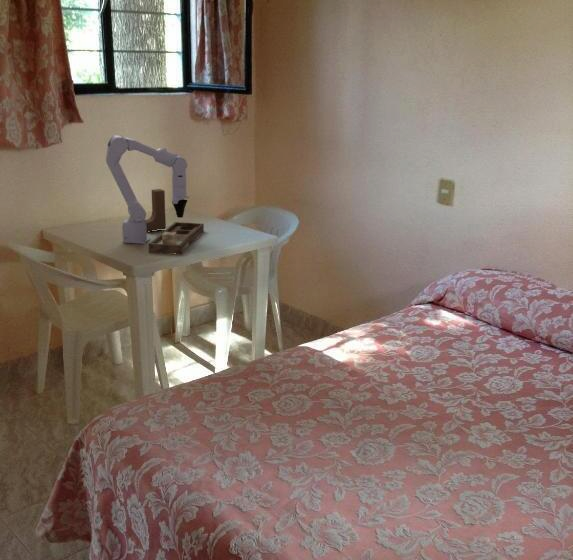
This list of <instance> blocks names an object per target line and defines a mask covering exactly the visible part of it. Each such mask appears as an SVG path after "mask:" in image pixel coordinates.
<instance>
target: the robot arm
mask: <svg viewBox="0 0 573 560" xmlns="http://www.w3.org/2000/svg"><path fill="white" fill-rule="evenodd" d="M127 151H128V152H131V151H138V152H139V153H143V154H145V155H148V156H149V157H153V159H154V162H157V163H159V164H161V165H164V166H166V167H168V168H172V170H171V172H172V175H171V177H172V178H171V181H172V182H171V183H172V184H171V185H172V196H171V198H172V200H171V204H172V205H173V207H174V210H175V212H176V213H175V214H176V218H178V219H179V218H181V219H182V218H183V217H184V213H185V210H186V209H185V208H186V205H187V203H188V199H189V198H190V195H187V194H188V193H187V174H186V171H187V168H188V163H187V161H186V158H184V157H182V156H181V155H179V154H178V153H176V152H174V153H172V152H171V151H168V149H167V148H165V147H163V148H161V147H159V148H157V149H155V148H153V147H151V146H149V145H147V144H145V143H142V142H140V141H138V140H136V139H134V138H131V137H127V136H122V135H121V134H114V135H112V136H111V137H110V138H109V140H108V143H107V149H106V156H105V162H106V164H107V167H108V169H109V171H110V173H111V175H112V177H113V179H114V181H115V183H116V185H117V187H118V189H119V190H120V193H121V195H122V196H123V199H124V201H125V203H126V205H127V212H128V214H129V217H128V219H124V220H123V222H122V225H121V227H122V228H121V229H122V241H121V242H122V243H126V244H140V245H144V244H146V243H147V242H149V241H150V240H151V237H148V235H147V233H148V232H147V230H146V220H147V218H146V217H147V212H146V209H144V207H143V205H142V204H140V202H139V200H138V199H137V197H136V195H135V192H134V191H133V188H132V187H131V185H130V182H129V181H128V178H127V175H126V173H125V172H124V170H123V168H122V166H121V164H120V160H121V158H122V156H123V155H124V154H125V153H126V152H127Z"/></svg>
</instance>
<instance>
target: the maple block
mask: <svg viewBox="0 0 573 560" xmlns="http://www.w3.org/2000/svg"><path fill="white" fill-rule="evenodd" d="M162 243H163V244H171V245H175V244H176V243H177V238H176V232H165V233H164V234H162Z"/></svg>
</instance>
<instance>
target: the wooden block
mask: <svg viewBox="0 0 573 560" xmlns="http://www.w3.org/2000/svg"><path fill="white" fill-rule="evenodd" d="M165 195H166V192H165V190H164V189H161V188H157V189H156V188H155V189H151V209H152V211H151V216H150V217H149V218H148V219H147V218H146V230H147V233H149V232H148V231H152V230H157V229H165V228H166V226H167V224H166V223H167V222H166V199H165V198H166V196H165ZM166 229H167V228H166Z"/></svg>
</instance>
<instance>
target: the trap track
mask: <svg viewBox="0 0 573 560" xmlns="http://www.w3.org/2000/svg"><path fill="white" fill-rule="evenodd" d="M204 225H205V224H204V223H199V222H183V221H182V222H179V221H175V222H173V223H172V224H171V225H170V226H169V227H167V228H166V230H163V231H162V232H161V233H160V234H158V236H156V237H155V238H154V239H153V240H151V241H150V242H149V243H148V253H152V252H162V253H161V254H168V253H176V254H175V255H182V254H183V253H184V252H185V251H186V250H187V249H188V248H189V247H190V246H191V245H192V244H193V243H194V242H195V241H196V240H197V239H198V238H199V237H200V236H201V235H202V234H203V233H204V230H205V226H204ZM165 232H176V238H177V243H176V244H175V245H171V244H163V243H162V234H164V233H165ZM200 234H201V235H200ZM199 235H200V236H199ZM198 236H199V237H198ZM197 237H198V238H197ZM196 238H197V239H196Z"/></svg>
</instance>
